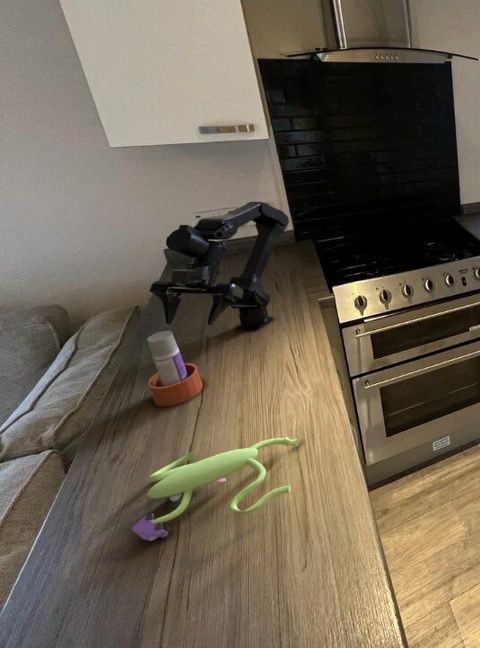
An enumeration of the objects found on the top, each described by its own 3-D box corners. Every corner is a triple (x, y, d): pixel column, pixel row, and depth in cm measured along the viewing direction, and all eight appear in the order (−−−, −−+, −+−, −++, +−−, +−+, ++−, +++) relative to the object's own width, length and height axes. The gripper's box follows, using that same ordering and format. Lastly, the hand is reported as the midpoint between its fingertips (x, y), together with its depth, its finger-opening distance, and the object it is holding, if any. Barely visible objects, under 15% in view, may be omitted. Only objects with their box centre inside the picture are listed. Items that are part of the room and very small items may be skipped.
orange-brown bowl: (183, 377, 109) (177, 360, 107) (212, 383, 107) (206, 366, 105) (144, 402, 100) (137, 384, 99) (175, 409, 98) (168, 391, 97)
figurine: (286, 526, 73) (279, 502, 71) (101, 557, 68) (87, 532, 66) (316, 441, 90) (311, 420, 88) (169, 461, 85) (160, 439, 83)
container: (182, 381, 106) (163, 328, 101) (196, 386, 105) (178, 332, 99) (161, 394, 102) (140, 339, 97) (175, 398, 101) (155, 343, 95)
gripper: (143, 251, 103) (121, 317, 98) (228, 255, 106) (211, 319, 100) (173, 265, 114) (155, 325, 108) (250, 268, 116) (236, 327, 111)
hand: (188, 324), depth 107 cm, fingers open, 9 cm apart
